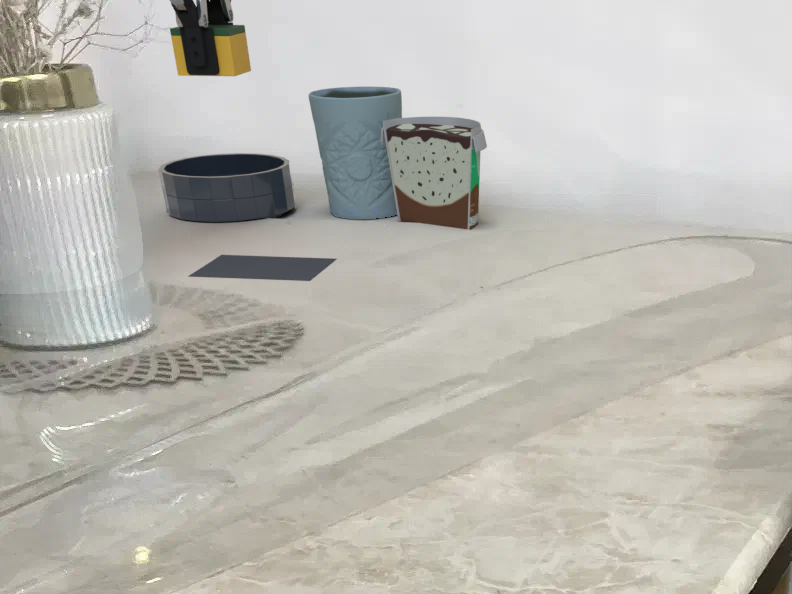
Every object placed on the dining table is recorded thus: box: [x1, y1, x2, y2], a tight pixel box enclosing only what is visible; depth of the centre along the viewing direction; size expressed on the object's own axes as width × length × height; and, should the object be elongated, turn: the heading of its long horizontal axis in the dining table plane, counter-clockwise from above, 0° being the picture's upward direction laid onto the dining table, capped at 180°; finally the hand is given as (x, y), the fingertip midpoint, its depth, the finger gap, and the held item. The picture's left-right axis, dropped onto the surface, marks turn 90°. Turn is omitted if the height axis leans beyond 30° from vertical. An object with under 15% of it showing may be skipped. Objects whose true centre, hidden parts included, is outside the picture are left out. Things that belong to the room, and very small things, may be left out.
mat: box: [187, 254, 338, 282], centre depth 109 cm, size 12×8×1 cm, turn 81°
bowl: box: [158, 152, 296, 223], centre depth 128 cm, size 14×14×5 cm
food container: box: [381, 116, 488, 231], centre depth 122 cm, size 12×6×10 cm, turn 59°
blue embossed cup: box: [308, 86, 403, 220], centre depth 127 cm, size 10×10×12 cm
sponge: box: [169, 24, 252, 77], centre depth 114 cm, size 6×4×4 cm
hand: (213, 69), depth 115 cm, fingers closed on sponge, 4 cm apart
